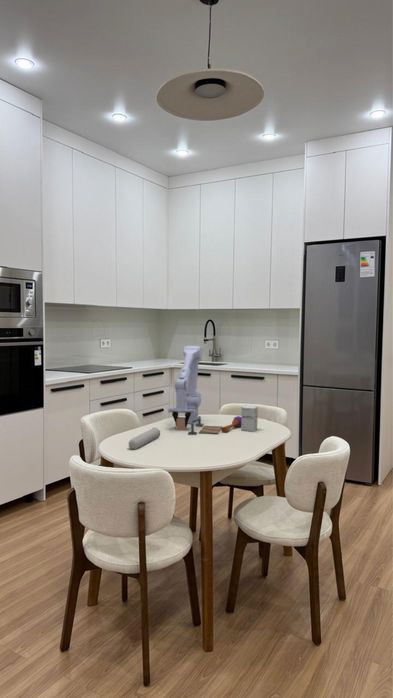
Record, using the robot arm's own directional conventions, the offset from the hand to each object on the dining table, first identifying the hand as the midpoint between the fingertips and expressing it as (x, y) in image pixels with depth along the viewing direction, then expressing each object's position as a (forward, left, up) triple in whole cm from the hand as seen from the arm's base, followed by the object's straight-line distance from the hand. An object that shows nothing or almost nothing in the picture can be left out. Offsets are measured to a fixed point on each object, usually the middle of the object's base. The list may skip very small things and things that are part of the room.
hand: (181, 426), depth 255 cm
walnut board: (0, +16, -2) cm, 16 cm away
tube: (+33, -11, -2) cm, 35 cm away
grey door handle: (0, +8, -2) cm, 8 cm away
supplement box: (-6, +36, -2) cm, 37 cm away
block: (0, 0, -2) cm, 2 cm away
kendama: (-6, +27, -2) cm, 28 cm away
